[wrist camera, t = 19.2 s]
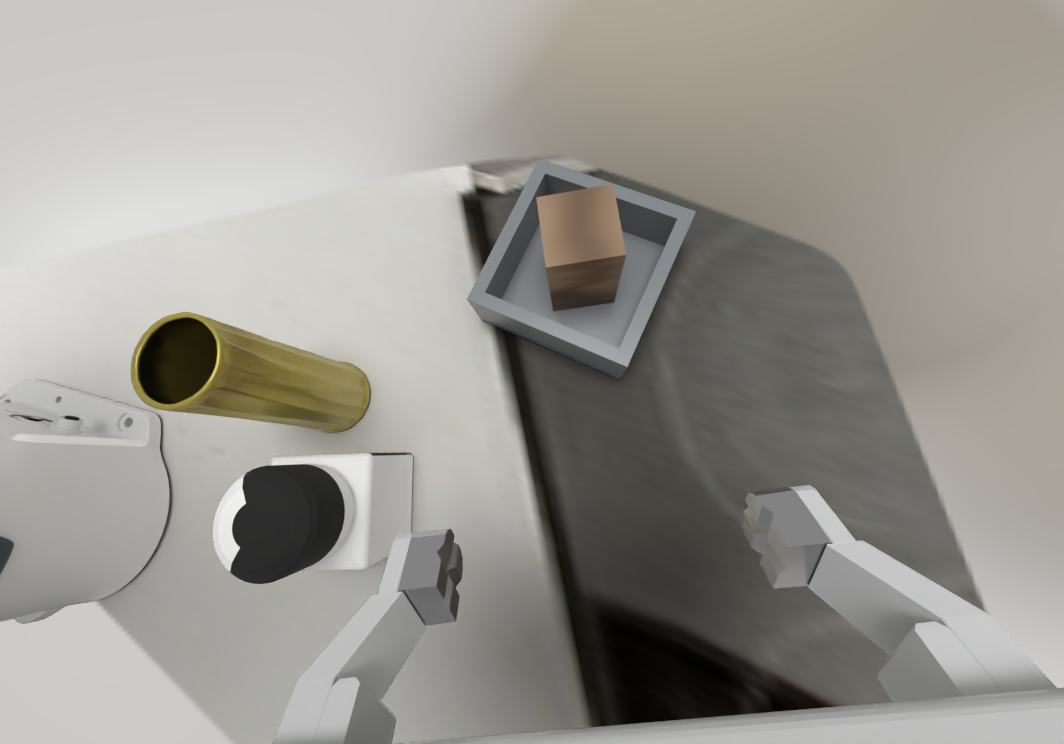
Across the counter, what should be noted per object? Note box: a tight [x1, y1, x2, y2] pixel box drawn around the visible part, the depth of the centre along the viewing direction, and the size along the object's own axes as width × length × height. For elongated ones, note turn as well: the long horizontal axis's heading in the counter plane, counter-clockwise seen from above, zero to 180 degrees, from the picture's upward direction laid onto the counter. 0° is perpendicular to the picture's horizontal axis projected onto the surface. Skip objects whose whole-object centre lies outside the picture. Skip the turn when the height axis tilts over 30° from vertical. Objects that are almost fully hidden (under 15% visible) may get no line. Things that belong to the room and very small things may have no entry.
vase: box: [131, 312, 370, 432], centre depth 27 cm, size 6×6×14 cm
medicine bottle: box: [213, 453, 413, 584], centre depth 26 cm, size 7×7×12 cm
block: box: [536, 184, 626, 312], centre depth 29 cm, size 5×5×8 cm
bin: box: [467, 159, 696, 380], centre depth 31 cm, size 13×13×5 cm
